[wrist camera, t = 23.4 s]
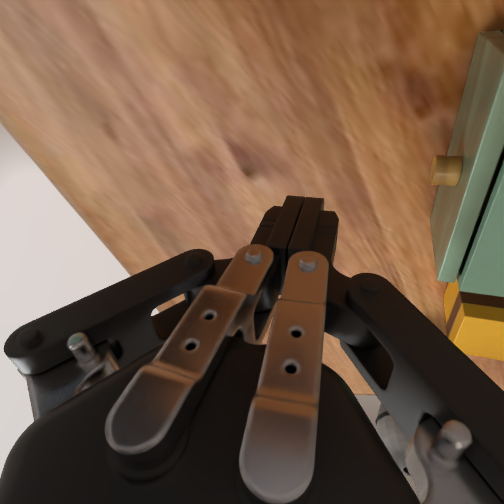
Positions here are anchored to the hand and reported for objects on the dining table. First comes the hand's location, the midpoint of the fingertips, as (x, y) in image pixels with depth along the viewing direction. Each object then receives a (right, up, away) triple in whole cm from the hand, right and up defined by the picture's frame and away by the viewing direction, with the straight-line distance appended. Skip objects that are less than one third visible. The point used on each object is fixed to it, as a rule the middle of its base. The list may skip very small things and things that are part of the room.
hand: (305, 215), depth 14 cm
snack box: (+20, -5, +21) cm, 30 cm away
